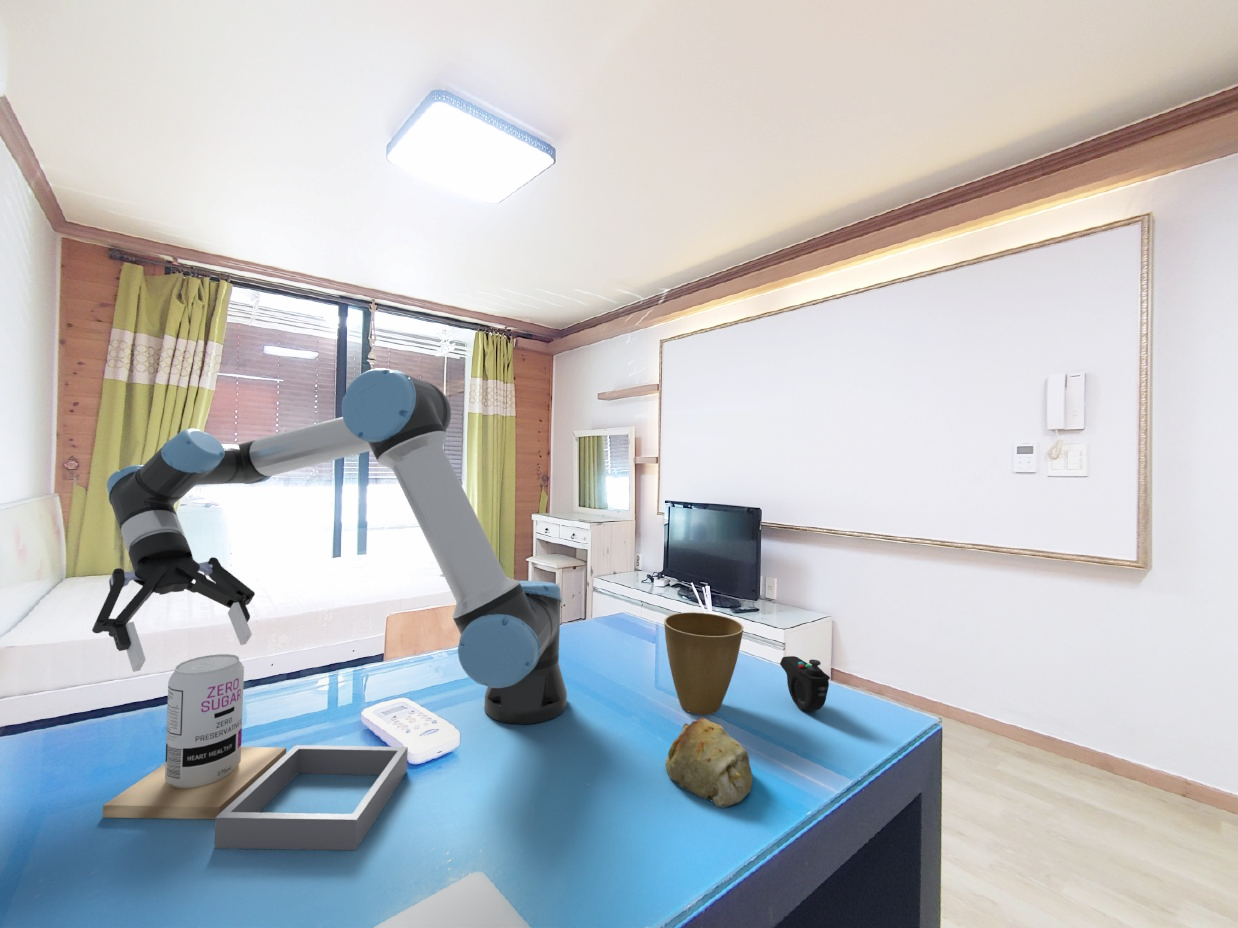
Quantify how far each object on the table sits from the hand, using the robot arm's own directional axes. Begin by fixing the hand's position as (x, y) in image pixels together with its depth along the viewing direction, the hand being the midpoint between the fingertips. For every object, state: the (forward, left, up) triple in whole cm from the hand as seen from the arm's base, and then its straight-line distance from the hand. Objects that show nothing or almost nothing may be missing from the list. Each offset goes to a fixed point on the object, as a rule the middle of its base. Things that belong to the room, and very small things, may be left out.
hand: (196, 652), depth 82 cm
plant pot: (-81, -18, -15) cm, 84 cm away
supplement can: (-8, +8, -14) cm, 18 cm away
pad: (-8, +9, -15) cm, 19 cm away
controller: (-101, -19, -15) cm, 104 cm away
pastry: (-78, +5, -15) cm, 79 cm away
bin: (-26, +13, -15) cm, 32 cm away
